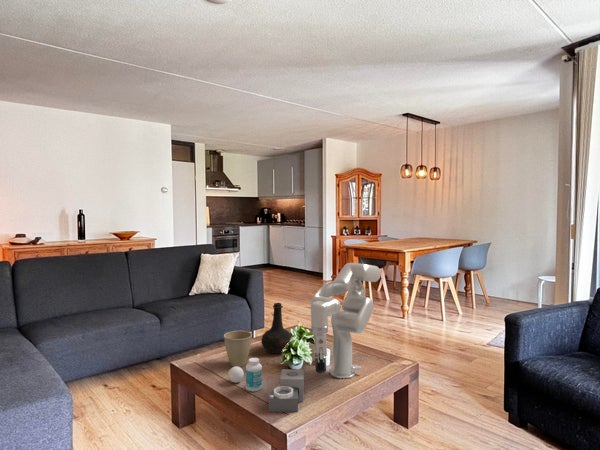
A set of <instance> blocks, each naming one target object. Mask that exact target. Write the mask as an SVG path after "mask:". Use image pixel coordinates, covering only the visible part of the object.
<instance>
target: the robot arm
mask: <svg viewBox="0 0 600 450" xmlns="http://www.w3.org/2000/svg"><path fill="white" fill-rule="evenodd" d="M381 272H382V271H381V269H380V268H379V267H378V266H377V265H372V264H367V263H358V262H357V263H356V262H348V263H345V265H344V266H343V267H342V268H341V270H340V271H339V272H338V274H337V276H336V277H335V279H334V280H332V281H330V282H328V283H326V284H324V285H322V286H320V287H319V289H317V291H316V292H315V293H314V295H313V297H312V299H311V302H310V325H311V335H314V336H313V337H314V338H313V339H314V349H315V353H316V355H317V356H318V362H317V363H318V371H324V370H325V361H324V355H325V356H326V357H327V356H328V348H327V347H328V343H327V334H328V333H329V321H328V320H329V319H328V318H329V317H331V318H330V322H331V329H332V351H333V352H332V358H333V359H332V360H333V361H332V368H331V369H329V374H330V375H331V376H332V377H334V378H336V379H342V378H343V379H345V378H346V379H351V378H353V377H355V375H356V372H362V369H363V368H362V366H359V364H358V365H356V364H355V365H354V364H353V337H352V334H351V333H353V334H357V335H359V334H362V333H364V331H365V329H366V327H367V325H368V323H369V321H370V318H371V317H372V314H373V312H374V302H373V299H371V298H370V297H367V296H365V295H366V288H365V286H364V285H363V282H368V283H369V282H370V283H376V282H378V281H379V280H380V279H381V274H382V273H381ZM362 281H363V282H362ZM345 293H346V295H345V297H344V299H343V300H342V304H341V302H340V301H339V300H338V299H336V298H332V297H333V296H337V295H338V296H339V295H342V294H345ZM341 308H342V310H341ZM319 354H320V355H319ZM319 357H320V358H319ZM343 379H342V380H343Z"/></svg>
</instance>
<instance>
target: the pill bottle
mask: <svg viewBox="0 0 600 450" xmlns="http://www.w3.org/2000/svg"><path fill="white" fill-rule="evenodd" d="M262 388H263V366H262V364H261V363H260V358H258V357H251V358H249V359H248V363H247V364H246V366H245V389H246V391H249V392H258V391H260V390H261V389H262Z"/></svg>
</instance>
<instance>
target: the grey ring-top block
mask: <svg viewBox="0 0 600 450" xmlns="http://www.w3.org/2000/svg"><path fill="white" fill-rule="evenodd" d="M297 412H299V402H298V389H293V388H291V387H289V386H280V385H279V386H276V387H275V388H274V389H269V394H268V413H297Z"/></svg>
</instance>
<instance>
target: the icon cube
mask: <svg viewBox="0 0 600 450" xmlns="http://www.w3.org/2000/svg"><path fill="white" fill-rule="evenodd" d="M279 386H289V387H291V388H293V389H298V403H304V400H305V399H304V398H305V397H304V396H305V369H288V368H287V369H286V368H285V369H281V372H280V377H279Z"/></svg>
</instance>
